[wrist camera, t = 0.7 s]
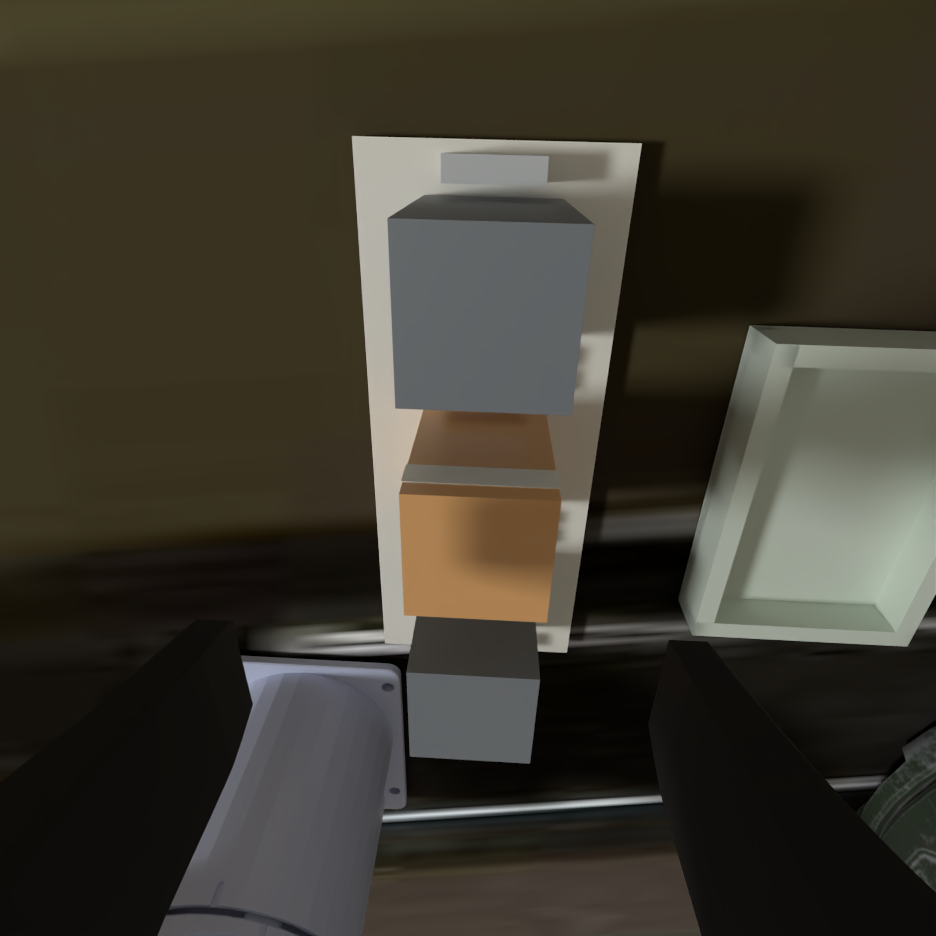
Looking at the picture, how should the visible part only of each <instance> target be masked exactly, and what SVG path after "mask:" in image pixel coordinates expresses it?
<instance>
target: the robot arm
mask: <svg viewBox="0 0 936 936" xmlns="http://www.w3.org/2000/svg"><path fill="white" fill-rule="evenodd" d="M387 683H389V684H387ZM648 726H649V732H650V738H651V744H652V750H653V756H654V762H655V767H656V773H657V778H658V784H659V789H660V793H661V796H662V800H663V803H664V807H665V811H666V814H667V818H668V821H669V825H670V828H671V832H672V835H673V839H674V842H675V846H676V849H677V853H678V856H679V859H680V863H681V866H682V870H683V873H684V877H685V880H686V883H687V887H688V890H689V894H690V897H691V901H692V904H693V908H694V911H695V914H696V918H697V921H698V925H699V928H700V932H701V935H702V936H936V892H935V891H934V890H933V889H932V888H931V887H930V886H929V885H927V884H926V883H925V882H924V881H923V880H922V879H921V878H920V877H919V876H918V875H917V874H916V873H915V872H914V871H913V870H912V869H911V868H910V867H909V866H908V865H907V864H906V863H905V862H904V861H903V860H902V859H901V858H900V857H899V856H898V855H897V854H896V853H895V852H894V851H893V850H892V849H891V848H890V847H889V846H888V845H887V844H886V843H885V842H884V841H883V840H882V839H881V838H880V837H879V836H878V835H877V834H876V833H875V832H874V831H873V830H872V829H871V828H870V827H869V826H868V825H867V824H866V823H865V822H864V821H863V820H862V819H861V817H860V816H859V815H858V814H857V813H856V812H855V811H854V810H853V809H852V808H851V807H850V806H849V805H848V804H847V803H846V802H845V801H844V800H843V799H842V797H841V796H840V795H839V794H838V793H837V792H836V791H835V790H834V789H833V788H832V787H831V786H830V784H829V783H828V782H827V781H826V780H825V779H824V778H823V777H822V776H821V775H820V773H819V772H818V771H817V770H816V769H815V768H814V767H813V766H812V764H811V763H810V762H809V761H808V760H807V759H806V758H805V757H804V755H803V754H802V753H801V752H800V751H799V750H798V749H797V748H796V746H795V745H794V744H793V743H792V742H791V741H790V740H789V739H788V737H787V736H786V735H785V734H784V733H783V732H782V730H781V729H780V728H779V727H778V726H777V725H776V723H775V722H774V721H773V720H772V719H771V718H770V716H769V715H768V714H767V713H766V712H765V710H764V709H763V708H762V707H761V706H760V705H759V703H758V702H757V701H756V700H755V699H754V697H753V696H752V695H751V694H750V693H749V691H748V690H747V689H746V688H745V687H744V685H743V684H742V683H741V682H740V680H739V679H738V678H737V677H736V676H735V674H734V673H733V672H732V671H731V670H730V668H729V667H728V666H727V665H726V663H725V662H724V661H723V660H722V659H721V657H720V656H719V655H718V654H717V653H716V651H715V650H714V649H713V648H712V647H711V646H710V644H709V643H708V642H701V641H678V640H669V642H668V646H667V650H666V654H665V658H664V662H663V666H662V670H661V674H660V678H659V682H658V686H657V690H656V694H655V699H654V703H653V707H652V711H651V715H650V719H649V723H648ZM406 801H407V786H406V766H405V745H404V724H403V704H402V683H401V671H400V669H399V668H398V667H397V666H395V665H393V664H389V663H370V662H352V661H333V660H315V659H296V658H278V657H259V656H241V654H240V650H239V646H238V642H237V638H236V633H235V629H234V625H233V621H223V620H201V619H197V620H195V621H194V622H193V623H192V624H191V625H189V626H188V627H187V628H186V629H185V630H183V631H182V632H181V633H180V634H179V635H178V636H176V637H175V638H174V639H173V640H172V641H171V642H169V643H168V644H167V645H166V646H165V647H164V648H163V649H161V650H160V651H159V652H158V653H157V654H156V655H154V656H153V657H152V658H151V659H150V660H149V661H148V662H146V663H145V664H144V665H143V666H142V667H141V668H140V669H138V670H137V671H136V672H135V673H134V674H133V675H131V676H130V677H129V678H128V679H127V680H126V681H124V682H123V683H122V684H121V685H120V686H119V687H118V688H116V689H115V690H114V691H113V692H112V693H110V694H109V695H108V696H107V697H106V698H105V699H103V700H102V701H101V702H100V703H99V704H97V705H96V706H95V707H94V708H93V709H91V710H90V711H89V712H88V713H87V714H86V715H84V716H83V717H82V718H81V719H80V720H78V721H77V722H76V723H75V724H74V725H72V726H71V727H70V728H69V729H67V730H66V731H65V732H64V733H62V734H61V735H60V736H59V737H57V738H56V739H55V740H54V741H52V742H51V743H50V744H49V745H47V746H46V747H45V748H43V749H42V750H41V751H40V752H38V753H37V754H36V755H35V756H33V757H32V758H31V759H30V760H28V761H27V762H26V763H24V764H23V765H22V766H21V767H19V768H18V769H17V770H16V771H14V772H13V773H12V774H11V775H9V776H8V777H7V778H5V779H4V780H3V781H2V782H0V936H362V932H363V927H364V921H365V915H366V910H367V904H368V898H369V892H370V887H371V881H372V875H373V870H374V864H375V858H376V852H377V847H378V841H379V835H380V830H381V824H382V818H383V812H384V808H385V809H401V808H403V807H404V806H405V805H406Z"/></svg>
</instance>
